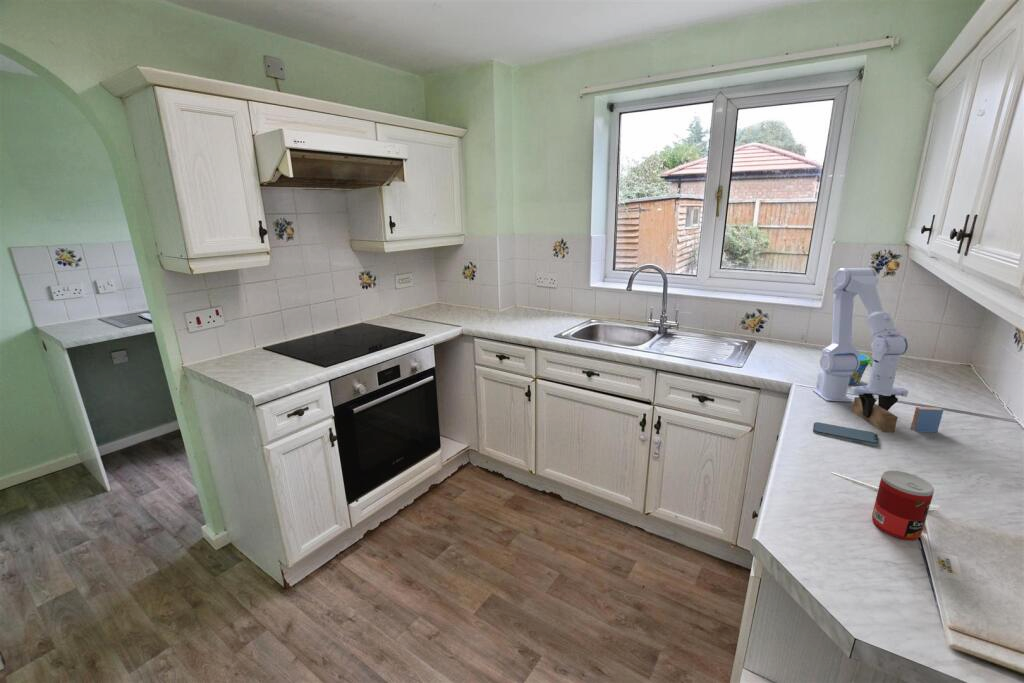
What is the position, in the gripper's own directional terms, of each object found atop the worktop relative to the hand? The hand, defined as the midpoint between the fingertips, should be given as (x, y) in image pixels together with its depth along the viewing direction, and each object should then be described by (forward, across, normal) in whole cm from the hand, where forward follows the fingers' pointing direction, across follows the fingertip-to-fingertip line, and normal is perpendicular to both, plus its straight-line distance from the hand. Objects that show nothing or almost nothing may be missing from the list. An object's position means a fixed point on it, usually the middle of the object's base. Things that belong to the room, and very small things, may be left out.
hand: (872, 416), depth 138 cm
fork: (+2, -20, -38) cm, 43 cm away
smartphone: (+2, -13, -10) cm, 17 cm away
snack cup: (+2, +11, +34) cm, 36 cm away
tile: (+2, +11, -5) cm, 12 cm away
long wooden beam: (+2, 0, 0) cm, 2 cm away
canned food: (+2, -25, -51) cm, 57 cm away
